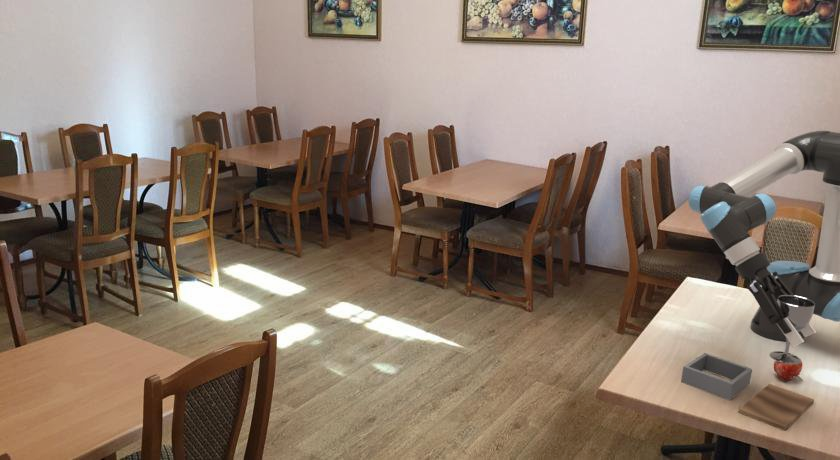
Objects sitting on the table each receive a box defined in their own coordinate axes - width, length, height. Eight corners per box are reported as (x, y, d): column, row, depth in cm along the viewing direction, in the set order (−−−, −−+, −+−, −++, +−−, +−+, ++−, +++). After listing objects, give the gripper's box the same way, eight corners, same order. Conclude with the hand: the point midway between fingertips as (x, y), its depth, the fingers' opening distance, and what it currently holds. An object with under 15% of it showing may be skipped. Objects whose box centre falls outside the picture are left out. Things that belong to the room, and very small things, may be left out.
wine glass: (807, 366, 168) (819, 308, 164) (772, 362, 170) (783, 304, 166) (797, 352, 176) (808, 296, 172) (763, 349, 177) (774, 293, 173)
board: (768, 386, 187) (769, 383, 187) (813, 402, 179) (814, 399, 179) (738, 412, 173) (738, 408, 173) (785, 430, 166) (785, 426, 165)
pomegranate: (790, 380, 196) (763, 356, 196) (813, 366, 192) (785, 341, 193) (792, 395, 189) (764, 369, 190) (815, 380, 186) (787, 354, 186)
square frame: (702, 367, 197) (704, 352, 195) (749, 384, 188) (752, 369, 187) (680, 381, 188) (683, 366, 187) (729, 400, 179) (732, 384, 178)
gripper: (751, 258, 185) (805, 334, 178) (717, 274, 171) (775, 358, 164) (775, 244, 180) (832, 321, 173) (743, 259, 166) (804, 344, 159)
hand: (804, 339), depth 169 cm, fingers closed on wine glass, 8 cm apart
